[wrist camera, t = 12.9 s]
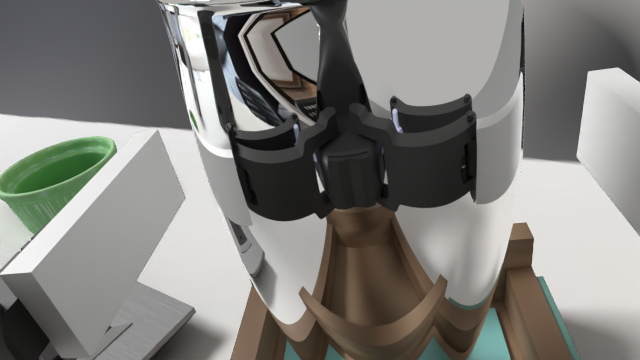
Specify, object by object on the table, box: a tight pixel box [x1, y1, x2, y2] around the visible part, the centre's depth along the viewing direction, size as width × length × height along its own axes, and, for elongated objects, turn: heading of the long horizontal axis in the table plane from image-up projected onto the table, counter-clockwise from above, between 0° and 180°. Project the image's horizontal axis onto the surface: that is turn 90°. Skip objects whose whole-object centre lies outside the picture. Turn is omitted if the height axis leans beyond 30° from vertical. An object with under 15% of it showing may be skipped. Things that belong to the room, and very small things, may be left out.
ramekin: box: [0, 136, 117, 234], centre depth 36 cm, size 9×9×4 cm
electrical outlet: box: [41, 281, 196, 360], centre depth 23 cm, size 13×10×2 cm
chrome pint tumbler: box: [157, 0, 525, 360], centre depth 12 cm, size 7×7×15 cm
